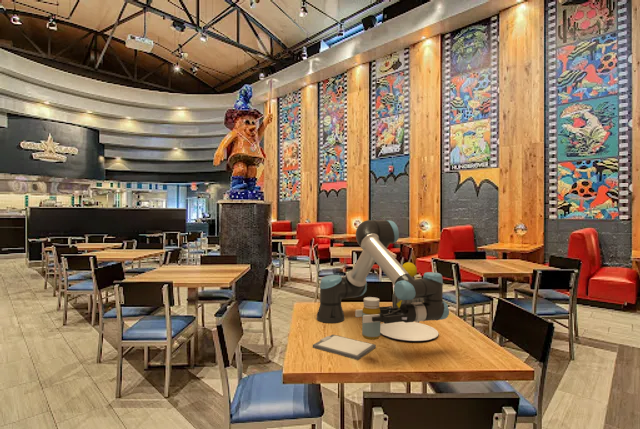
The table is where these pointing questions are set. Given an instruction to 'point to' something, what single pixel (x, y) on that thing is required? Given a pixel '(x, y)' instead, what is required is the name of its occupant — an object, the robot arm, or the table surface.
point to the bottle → (373, 328)
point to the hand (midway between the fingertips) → (359, 316)
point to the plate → (408, 331)
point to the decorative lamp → (412, 272)
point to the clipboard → (344, 346)
